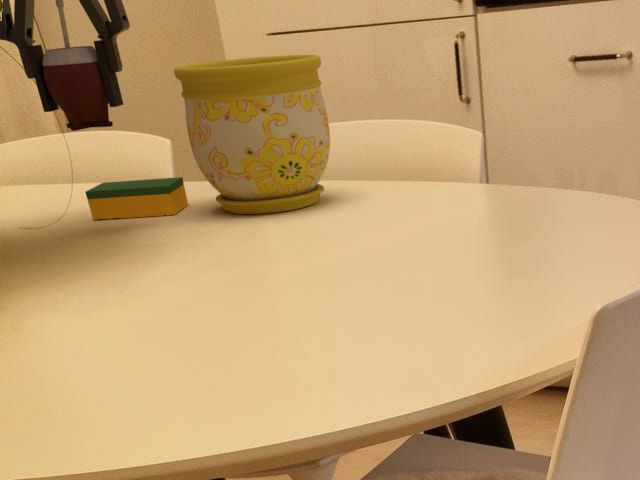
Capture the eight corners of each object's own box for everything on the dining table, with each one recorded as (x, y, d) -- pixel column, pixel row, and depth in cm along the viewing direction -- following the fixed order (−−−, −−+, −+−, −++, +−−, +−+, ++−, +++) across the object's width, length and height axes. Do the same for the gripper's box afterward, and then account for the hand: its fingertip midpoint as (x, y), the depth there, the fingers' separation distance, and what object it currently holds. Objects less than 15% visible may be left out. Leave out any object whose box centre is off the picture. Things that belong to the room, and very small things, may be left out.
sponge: (93, 220, 125) (85, 191, 123) (110, 210, 130) (102, 182, 128) (175, 214, 124) (168, 185, 122) (188, 204, 130) (182, 177, 128)
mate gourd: (84, 124, 116) (44, -26, 107) (138, 121, 113) (102, -31, 105) (44, 132, 110) (-2, -25, 101) (99, 130, 108) (57, -31, 99)
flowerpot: (367, 195, 127) (350, 52, 118) (270, 223, 115) (242, 66, 106) (274, 189, 136) (251, 56, 127) (175, 214, 125) (142, 69, 115)
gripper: (123, -148, 100) (176, 99, 113) (-60, -133, 101) (13, 111, 114) (100, -157, 94) (159, 105, 107) (-95, -141, 95) (-13, 118, 108)
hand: (84, 107), depth 111 cm, fingers closed on mate gourd, 7 cm apart
